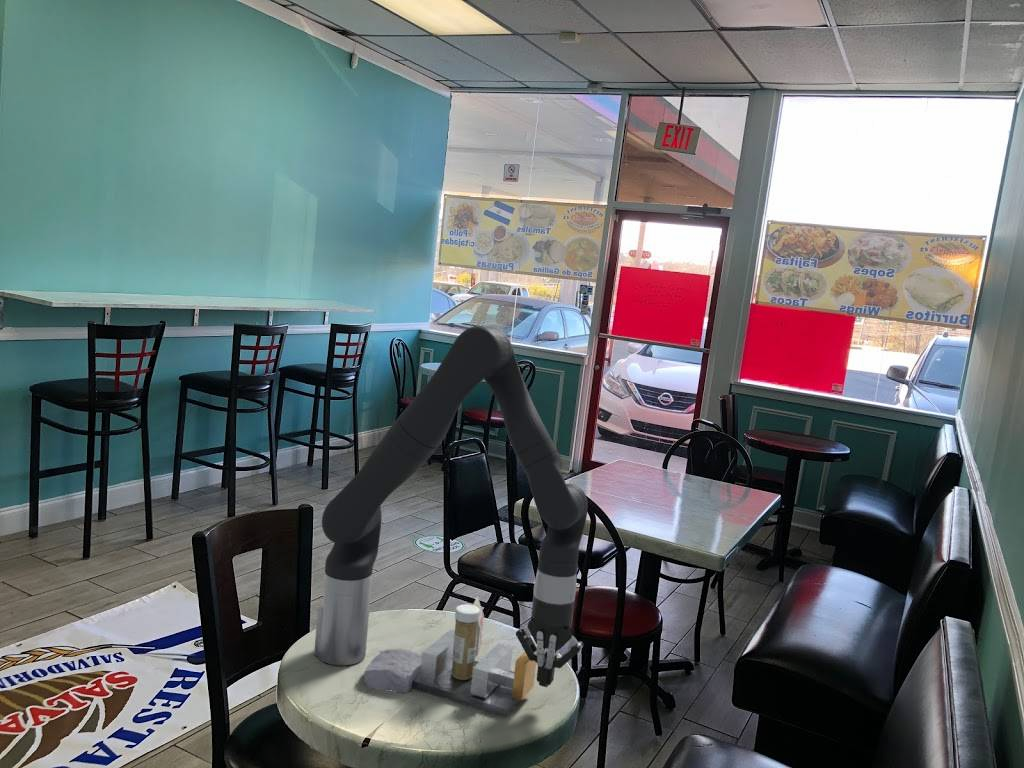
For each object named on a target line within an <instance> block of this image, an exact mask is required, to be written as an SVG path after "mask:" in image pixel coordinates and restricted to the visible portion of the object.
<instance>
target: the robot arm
mask: <svg viewBox="0 0 1024 768" xmlns="http://www.w3.org/2000/svg"><path fill="white" fill-rule="evenodd" d="M483 380H484V381H485V383H486V384H487V385H488V387H489V388H490V390H491V392H492V393H493V396H494V397H495V399H496V401H497V404H498V406H499V408H500V412H501V416H502V418H503V423H504V427H505V429H506V434H507V437H508V440H509V443H510V445H511V448H512V450H513V452H514V454H515V456H516V458H517V460H518V462H519V464H520V466H521V468H522V469H523V472H524V473H525V475H526V477H527V479H528V484H529V488H530V490H531V491H530V492H531V495H532V497H533V498H532V499H533V501H534V504H535V508H536V509H537V511H538V514H539V515H540V517H541V518H542V520H543V521H544V522H545V524H546V525H547V532H546V535H544V538H542V541H541V543H540V547H539V555H538V563H537V564H538V565H537V569H536V570H537V571H536V574H535V575H536V576H535V579H534V585H533V596H532V597H533V598H532V604H531V605H532V606H531V613H530V614H531V615H530V616H531V617H530V620H529V621H528V623H527V625H525V626H521V627H519V628H518V629H517V631H516V632H515V636H516V637H517V639H518V641H519V643H520V645H521V647H522V649H523V650H524V652H525V653H526V654H527V656H528V658H529V660H531V661H535V662H536V665H537V673H536V681H537V683H538V685H539V686H540V687H544V688H548V687H549V686H551V685H552V683H553V682H554V680H555V678H554V677H555V671H556V669H561V668H562V667H564V666H565V665H566V664H567V663H568V662H569V661H570V660H572V659H573V658H574V657H575V656H576V655H577V654H578V653H580V651H581V650H582V648H583V647H584V643H583V642H582V641H578V640H577V638H576V637H575V636H574V634H575V633H574V629H573V618H574V617H573V616H574V610H575V600H576V592H577V591H576V590H577V571H578V562H579V561H578V560H579V549H580V544H581V540H582V537H583V533H584V529H585V526H586V521H587V518H588V517H587V516H588V511H589V509H588V508H589V503H588V498H587V495H586V493H585V491H584V490H583V488H581V487H580V486H578V485H577V484H573V483H567V482H566V481H565V479H564V476H563V474H562V467H563V461H562V458H561V455H560V453H559V451H558V449H557V447H556V445H555V444H554V441H553V440H552V438H551V435H550V434H549V431H548V429H547V427H546V426H545V424H544V423H543V420H542V419H541V416H540V415H539V412H538V410H537V407H536V406H535V404H534V401H533V400H532V397H531V396H530V392H529V390H528V388H527V385H526V382H525V380H524V378H523V375H522V372H521V370H520V366H519V363H518V359H517V357H516V354H515V351H514V348H513V346H512V342H511V340H510V337H508V335H507V334H506V333H505V332H504V331H502V330H501V329H499V328H497V327H493V326H484V325H481V326H480V325H476V326H471V327H469V328H467V329H464V331H462V332H461V333H460V334H459V335H458V336H457V337H456V338H455V340H454V342H453V344H452V345H451V347H450V348H449V349H448V351H447V353H446V354H445V356H444V358H443V359H442V361H441V363H440V365H439V366H438V367H437V369H436V371H435V372H434V373H433V375H432V377H430V379H429V380H428V382H427V383H426V384H425V385H424V387H422V388H421V390H420V391H419V392H418V393H417V394H416V395H415V397H414V398H413V399H412V400H411V402H410V403H409V404H408V405H407V407H406V408H405V409H404V410H403V411H402V413H400V415H398V417H397V418H396V420H395V421H394V422H393V423H392V425H391V426H390V427H389V429H387V431H386V432H385V435H383V437H382V439H381V440H380V442H379V443H378V444H377V445H376V447H375V448H374V449H373V451H372V452H371V454H370V455H369V457H368V458H367V459H366V461H365V462H364V464H363V465H362V467H361V468H360V470H358V472H357V473H356V474H355V476H354V477H353V478H352V479H351V480H350V481H349V482H348V483H347V484H346V485H345V486H344V487H343V489H341V490H340V492H338V494H337V495H335V496H334V497H333V499H331V500H330V501H329V502H328V504H327V505H326V506H325V507H324V510H323V513H322V517H321V528H322V531H323V533H324V535H325V537H326V538H327V539H328V540H329V541H330V542H332V543H333V546H332V549H330V552H329V554H328V555H327V557H326V559H325V564H324V577H323V578H324V579H323V593H322V594H323V595H322V603H321V604H322V605H321V606H320V607H319V608H318V609H317V613H316V622H315V623H316V625H315V639H314V652H313V653H314V654H313V655H314V656H317V657H318V658H319V659H320V660H321V661H322V662H324V663H326V664H329V665H334V666H351V665H355V664H358V663H361V662H362V661H363V660H364V659H366V655H367V654H366V651H367V641H368V640H367V639H368V631H369V618H370V606H371V595H372V593H371V592H372V583H373V582H372V581H373V580H372V579H373V570H374V569H373V568H374V565H375V562H376V560H377V556H378V554H379V553H378V552H379V546H380V545H379V544H380V538H381V529H382V517H383V516H382V509H381V508H382V507H381V506H382V504H383V503H384V502H385V501H386V499H388V498H389V496H390V495H391V494H393V492H395V491H396V490H397V489H398V488H399V487H400V486H402V485H403V484H404V483H406V482H407V480H409V479H410V478H411V477H412V476H413V475H414V474H415V473H416V472H417V471H418V470H419V469H420V468H421V467H423V465H424V464H425V463H426V462H427V461H428V460H429V459H430V457H431V456H432V455H433V454H434V452H435V451H436V450H437V449H438V447H439V446H440V444H442V442H443V440H444V439H445V438H446V436H447V434H448V432H449V430H450V428H451V425H452V423H453V421H454V418H455V416H456V413H457V411H458V409H459V408H460V406H461V405H462V403H463V402H464V400H465V399H466V398H467V397H468V396H469V394H471V393H472V391H473V390H474V389H475V388H477V386H478V385H479V384H481V382H482V381H483ZM567 643H569V644H568V645H567V651H566V652H564V654H563V655H562V656H560V657H558V655H559V652H560V650H561V649H562V648H563V647H564V646H565V645H566V644H567Z"/></svg>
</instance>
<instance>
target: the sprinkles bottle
mask: <svg viewBox="0 0 1024 768" xmlns="http://www.w3.org/2000/svg"><path fill="white" fill-rule="evenodd" d="M479 614H480V610H479V608H478V607H476V606H474V605H473V604H467V603H466V604H460V605H457V606H456V608H455V614H454V615H455V616H454V617H455V619H454V620H455V625H454V626H455V628H454V630H455V633H454V645H453V665H452V671H451V674H452V676H453V677H454V678H456V679H459V680H468V679H471V678H472V673H473V667H474V665H475V661H476V641H477V625H478V620H479Z"/></svg>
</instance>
